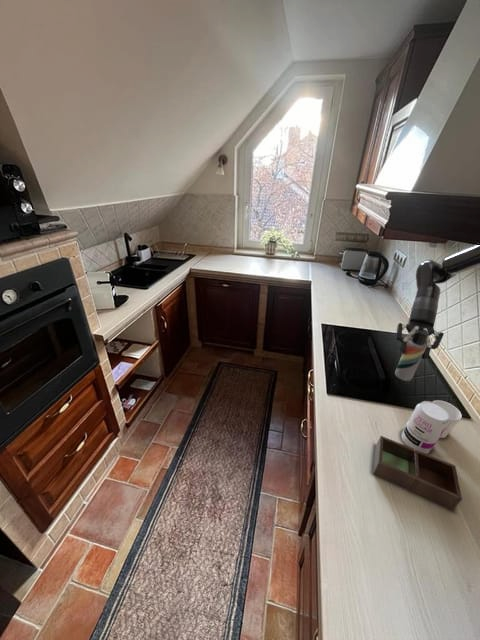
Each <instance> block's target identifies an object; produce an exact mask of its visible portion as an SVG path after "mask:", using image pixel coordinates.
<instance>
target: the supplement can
mask: <svg viewBox="0 0 480 640" xmlns="http://www.w3.org/2000/svg"><path fill="white" fill-rule="evenodd" d="M448 423H449V414H448V412H447V411H446V410H445V409H444V408H443V407H441V406H440V405H438V404H436V403H434V402H433V401H430V400H424V401H421V402H420V403H417V404H416V406H415V407H414V409H413V412H412V413H411V415H410V417H409V419H408V421H407V423H406V424H405V427H404V428H403V430H402V432H401V440H402V442H403V443H404V445H405V446H408V447H410V448H413V449H415V450H417V451H420V452H423V453H425V454H429V453H431V451H432V450H433V448H434V447H435V445H436V443H437V442H438V440H439V439H440V438H439V437H440V436H441V434H442V433H443V431H444V430H445V428H446V427H447V425H448Z"/></svg>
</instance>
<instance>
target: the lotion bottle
mask: <svg viewBox="0 0 480 640" xmlns="http://www.w3.org/2000/svg"><path fill="white" fill-rule="evenodd" d="M428 335H429V333H428V332H427V331H426V330H423V329H417V330H416V331H415V333H414V336H413V338H412V337H411V338H410V339H409V340H408V341H407V342H406V343H407V346H406V350H405V353H404V354H403V353H401V356H400V359H399V361H398V364H397V366H396V369H395V371H394V375H395V376H396V378H398V379H399V380H401V381H405V382H410V381H412V380H413V378H414V376H415V374H416V372H417V369H418V367H419V365H420V363H421V360H422V356H423V354H424V352H425V350H426V347H427V344H426V343H425V341H426V339H427V337H428Z"/></svg>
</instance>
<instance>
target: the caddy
mask: <svg viewBox="0 0 480 640" xmlns="http://www.w3.org/2000/svg"><path fill="white" fill-rule="evenodd" d="M375 444H376V445H375V449H374V450H375V451H374V459H373V470H372V471H373V472H372V473H373V474H374V475H376V476H378V477H380V478H382V479H384V480H386V481H389V482H391V483H393V484H395V485H397V486H399V487H401V488H404V489H406V490H408V491H410V492H412V493H414V494H417V495H418V496H420V497H423V498H425V499H427V500H429V501H432V502H434V503H436V504H437V505H440V506H442V507H444V508H447V509H449V510H450V511H454V510H455V508H456V507H457V506H458V505H459V504H460V503H461V501H462V500H463V497H462V492H461V487H460V483H459V478H458V477H459V476H458V473H457V467H456V465H455V464H453V463H450V462H447V461H446V460H443V459H440V458H437V457H436V456H433V455H430V454H429V453H427V454H425V453H423V452H420V451H417V450H415V449H413V448H410V447H408V446H407V445H406V444H402V443H400V442H397V441H396V440H392V439H390V438H387V437H385V436H383V435H380V436H379V438H378V440H377V442H376V443H375Z"/></svg>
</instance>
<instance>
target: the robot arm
mask: <svg viewBox="0 0 480 640" xmlns="http://www.w3.org/2000/svg"><path fill="white" fill-rule="evenodd" d="M478 267H480V245H476V244H472V245H470V246H467V247H465V248H462V249H460V250H458V251H455V252H453V253H450V254H448V255H446V256H445V257H444V258H443V260H442V261H441V263H440V262H438V261H435V260H433V259H425V260H423V261H422V262H420V264H418V266H417V268H416V270H415V280H416V281H415V282H416V294H415V297H414V300H413V303H412V307H411V309H410V314H409V319H408V322H407V323H406V324H404V323H401V322H399V323H398V324H397V326H396V341H399V342H400V343H401V344H400V347H399V351H400V352H401V354H404V353H405V350H406V346H407V342H408V340H409V339H412V338H413V336H414V333H415V331H416V330H417V329H423V330H426V331H427V332H428V333H429V335H428V337H427V339H426V341H425V343H426V344H427V347H426V350H425V352H424V354H423V356H422V358H421V360H427V359H428V358H429V357H430V353H431V350H436V349H438V348H439V346H440V344H441V343H442V339H443V338H444V335H445V334H444V332H441V331H440V332H439V331H436V330H435V328H434V327H435V322H436V319H437V314H438V309H439V301H440V296H441V291H442V290H441V287H440V286H439V285H441V284H444V283H446V282H448V281H449V280H451V279H452V278H454V277H456V276H457V275H458V274H461V273H464V272H467V271H470V270H472V269H475V268H478ZM405 329H406V331H407V333H408V334H406V336H405V337H403V331H404V330H405ZM432 335H433V338H434V341H433V343H432V344H431V338H430V336H432Z"/></svg>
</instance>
